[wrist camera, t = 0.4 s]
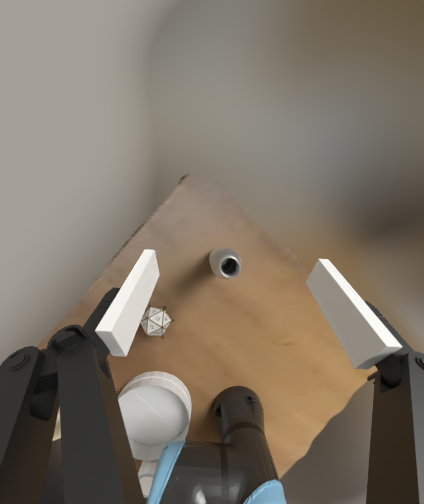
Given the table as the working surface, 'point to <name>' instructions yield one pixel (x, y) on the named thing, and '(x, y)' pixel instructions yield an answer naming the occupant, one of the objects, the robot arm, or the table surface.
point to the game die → (155, 321)
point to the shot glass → (147, 475)
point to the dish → (154, 413)
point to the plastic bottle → (225, 262)
